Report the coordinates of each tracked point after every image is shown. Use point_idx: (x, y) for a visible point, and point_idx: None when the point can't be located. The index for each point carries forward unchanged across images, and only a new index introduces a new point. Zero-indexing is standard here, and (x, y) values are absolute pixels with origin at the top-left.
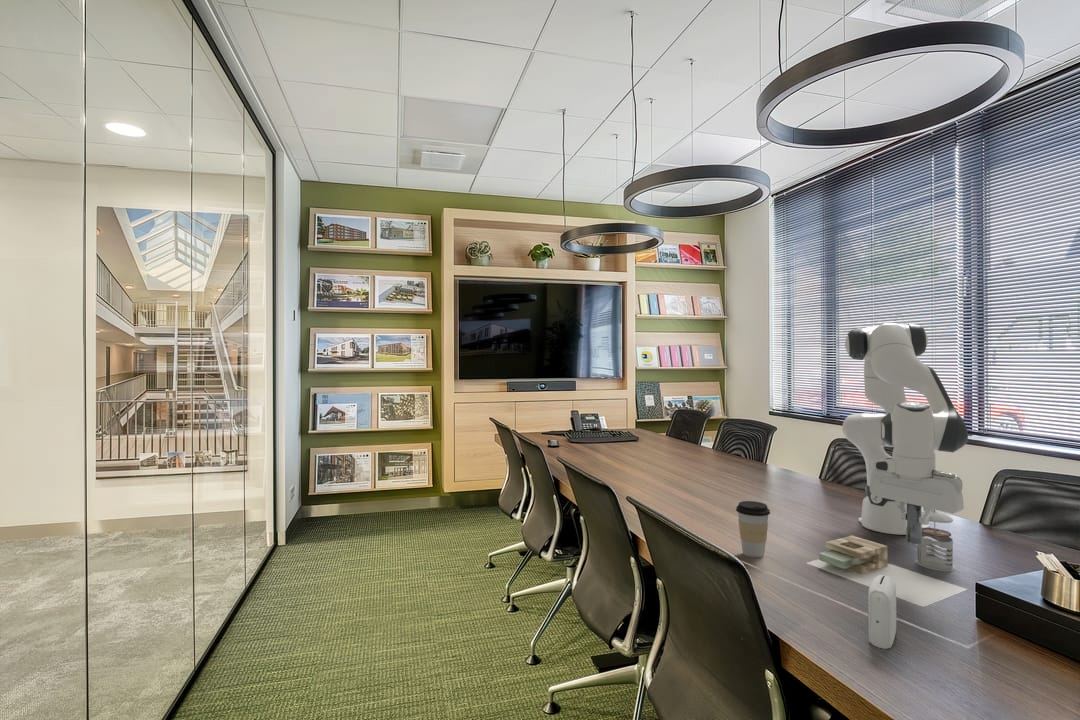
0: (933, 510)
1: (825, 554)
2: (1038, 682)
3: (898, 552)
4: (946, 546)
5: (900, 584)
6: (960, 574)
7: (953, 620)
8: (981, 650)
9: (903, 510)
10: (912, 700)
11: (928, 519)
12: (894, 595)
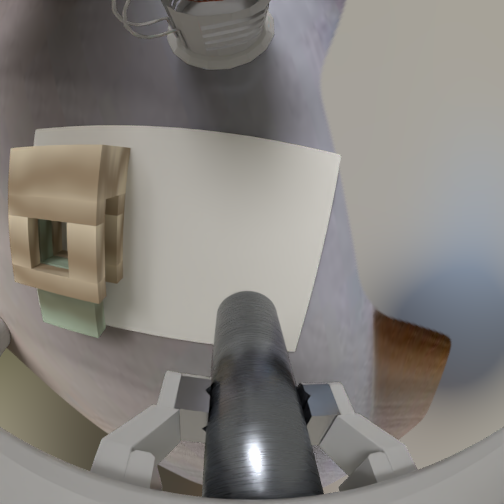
0: (402, 457)
1: (52, 320)
2: (415, 404)
3: (118, 12)
4: (263, 6)
5: (212, 267)
6: (286, 37)
7: (343, 348)
8: (376, 397)
9: (170, 435)
10: (326, 481)
11: (347, 405)
12: None
